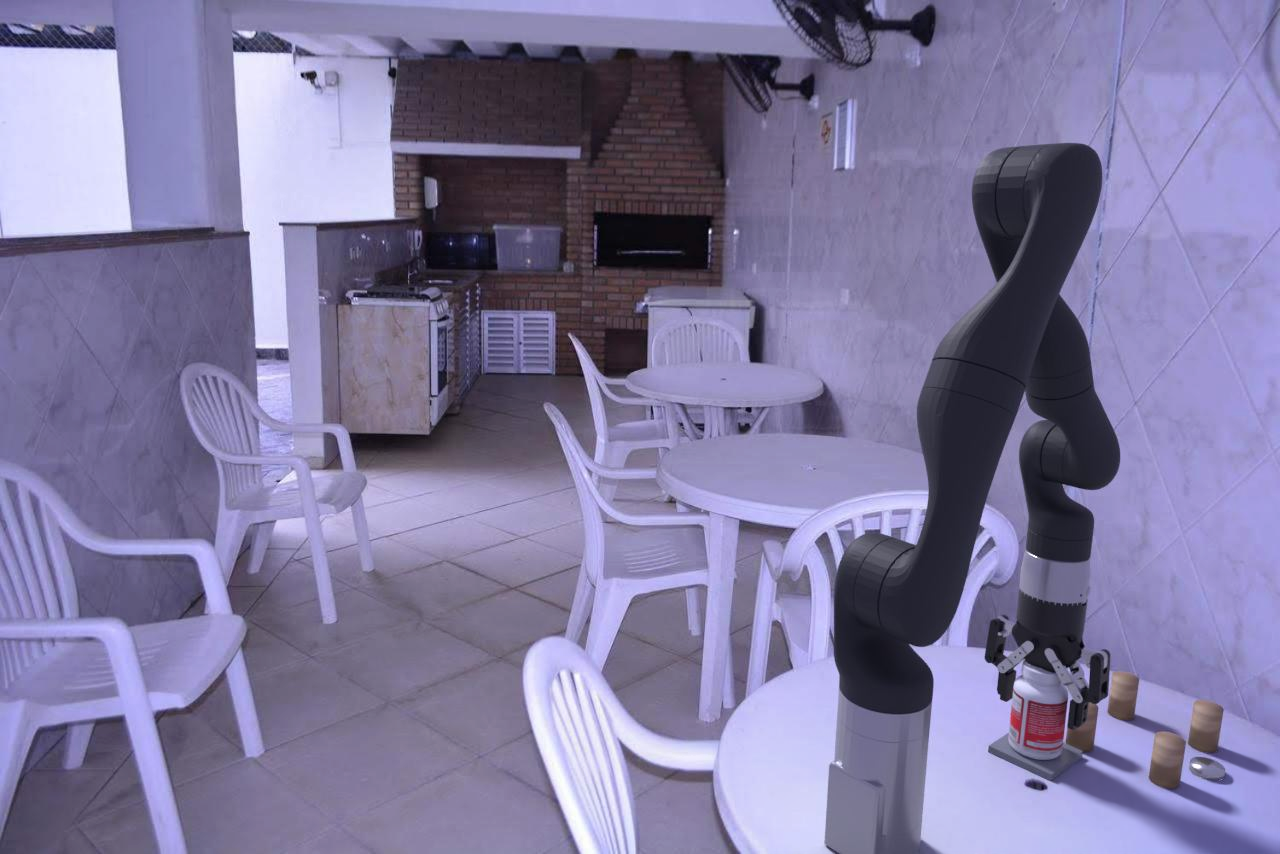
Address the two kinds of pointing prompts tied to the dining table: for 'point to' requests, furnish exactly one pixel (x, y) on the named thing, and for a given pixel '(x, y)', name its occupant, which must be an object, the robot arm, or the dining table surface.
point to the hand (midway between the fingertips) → (1039, 712)
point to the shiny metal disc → (1207, 768)
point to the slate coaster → (1039, 767)
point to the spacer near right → (1084, 731)
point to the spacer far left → (1205, 726)
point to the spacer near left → (1167, 760)
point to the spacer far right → (1123, 695)
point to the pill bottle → (1038, 713)
